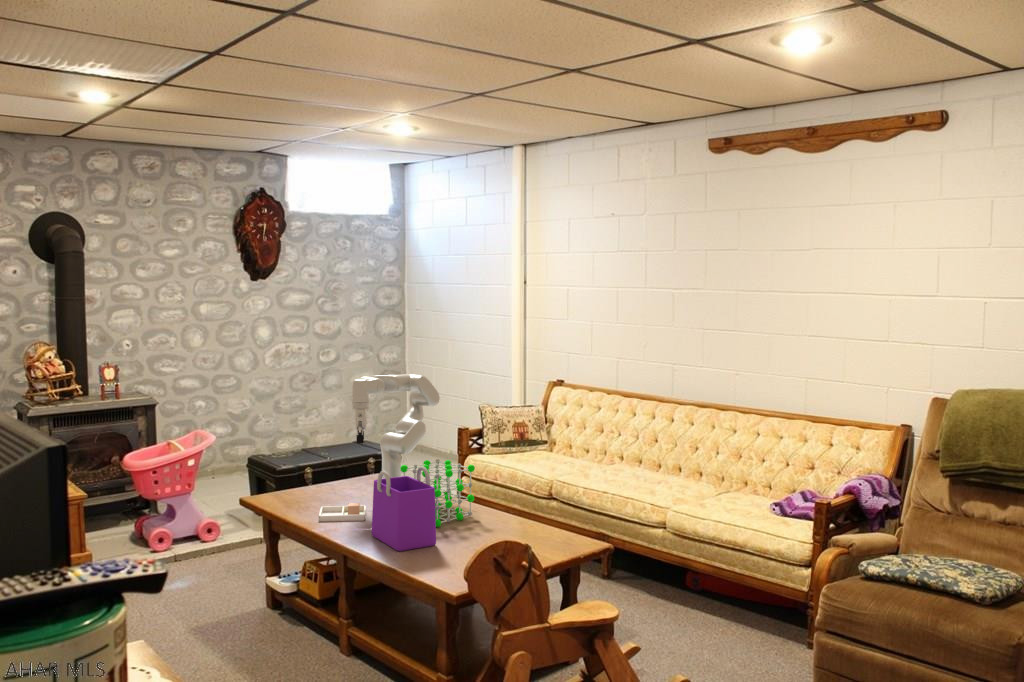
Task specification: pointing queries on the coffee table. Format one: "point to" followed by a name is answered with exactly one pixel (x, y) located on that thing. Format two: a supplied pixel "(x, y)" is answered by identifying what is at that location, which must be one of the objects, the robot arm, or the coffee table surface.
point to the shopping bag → (404, 511)
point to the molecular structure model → (448, 491)
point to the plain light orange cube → (353, 508)
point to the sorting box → (340, 514)
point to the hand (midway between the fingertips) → (360, 441)
